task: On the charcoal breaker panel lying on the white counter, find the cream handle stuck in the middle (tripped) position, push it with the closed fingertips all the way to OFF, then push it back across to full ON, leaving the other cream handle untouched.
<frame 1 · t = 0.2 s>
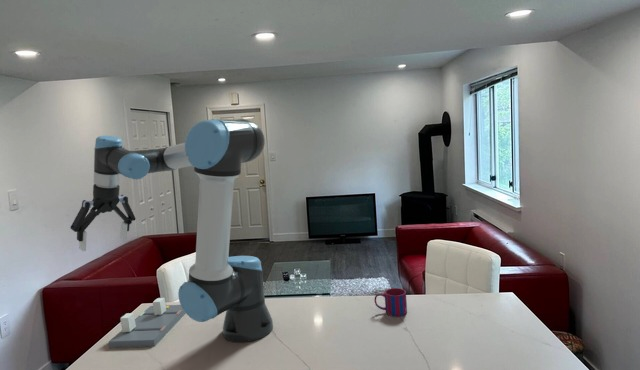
hand: (103, 244, 140), 27 cm above the table, tool tilted 15°, fingers open, 13 cm apart
breaker panel: (152, 327, 138), on the table
tripped breaker: (159, 306, 143), point 5 cm above the table, slide at 4.5 cm
mug: (391, 312, 135), on the table
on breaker: (128, 322, 131), point 5 cm above the table, slide at 9.0 cm
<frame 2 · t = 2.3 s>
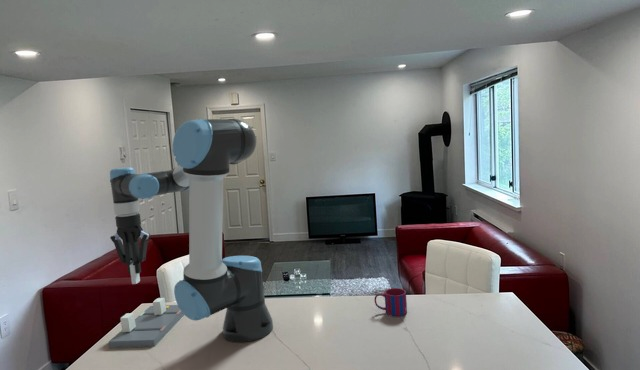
hand: (136, 282, 143), 13 cm above the table, tool pointing down, fingers closed
nothing on the table moved.
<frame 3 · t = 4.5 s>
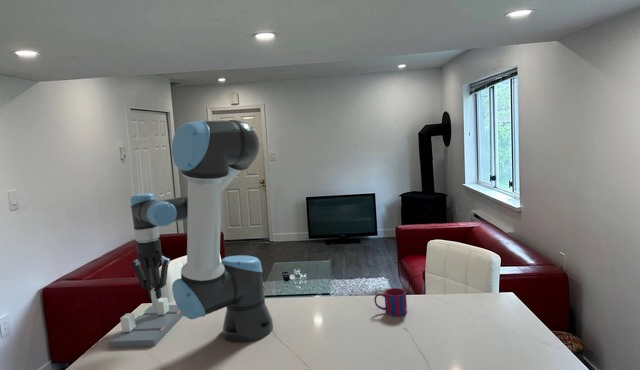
hand: (156, 307, 143), 4 cm above the table, tool pointing down, fingers closed
tripped breaker: (162, 306, 143), point 5 cm above the table, slide at 3.4 cm, touching gripper
everything else where it was.
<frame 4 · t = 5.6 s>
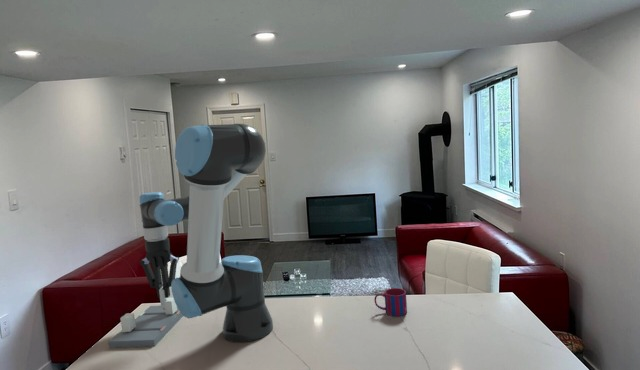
hand: (165, 306, 143), 4 cm above the table, tool pointing down, fingers closed
tripped breaker: (170, 305, 143), point 5 cm above the table, slide at 0.5 cm, touching gripper
everything else where it was.
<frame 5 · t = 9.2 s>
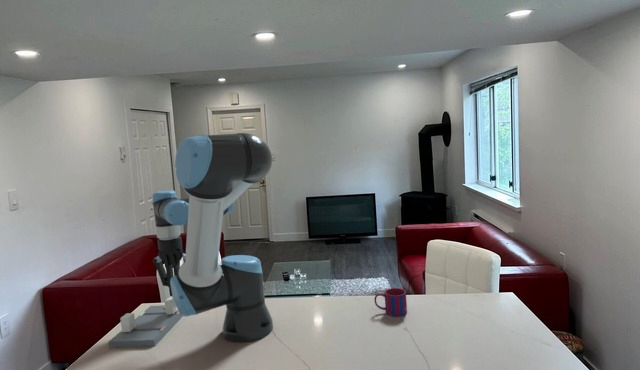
hand: (177, 304, 143), 5 cm above the table, tool pointing down, fingers closed
nothing on the table moved.
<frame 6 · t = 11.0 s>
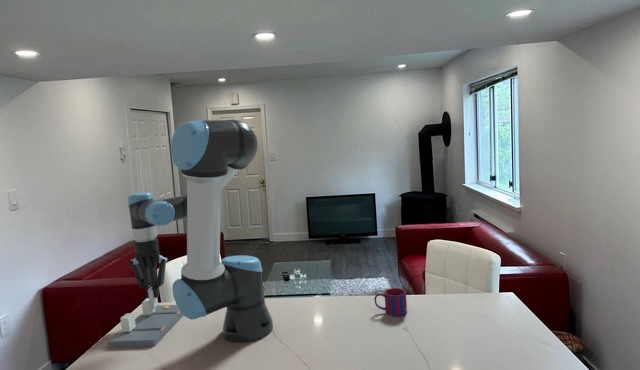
hand: (154, 306, 143), 4 cm above the table, tool pointing down, fingers closed
tripped breaker: (148, 306, 143), point 5 cm above the table, slide at 8.4 cm, touching gripper
everything else where it was.
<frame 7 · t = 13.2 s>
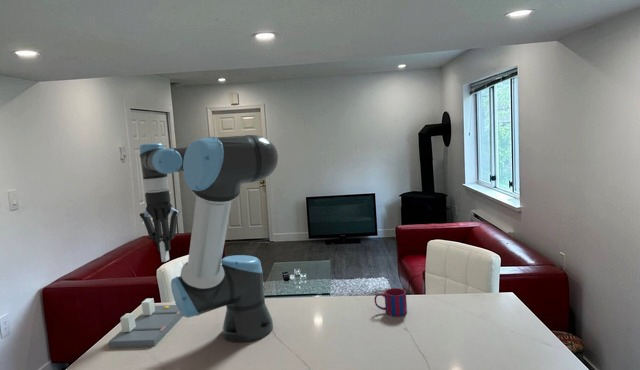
hand: (165, 260, 141), 20 cm above the table, tool pointing down, fingers closed
tripped breaker: (148, 306, 143), point 5 cm above the table, slide at 8.5 cm
everything else where it was.
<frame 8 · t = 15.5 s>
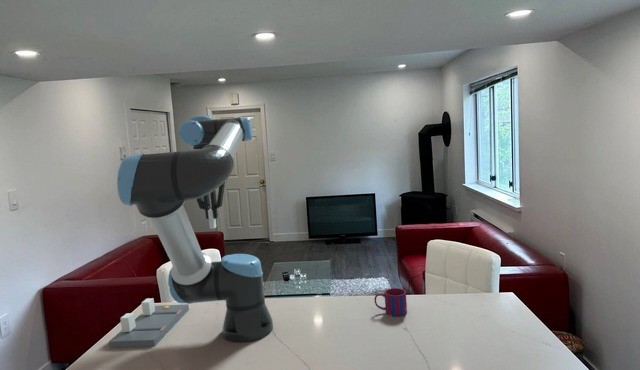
hand: (213, 227, 149), 28 cm above the table, tool pointing down, fingers closed
nothing on the table moved.
at the end: tripped breaker slide at 8.5 cm; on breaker slide at 9.0 cm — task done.
